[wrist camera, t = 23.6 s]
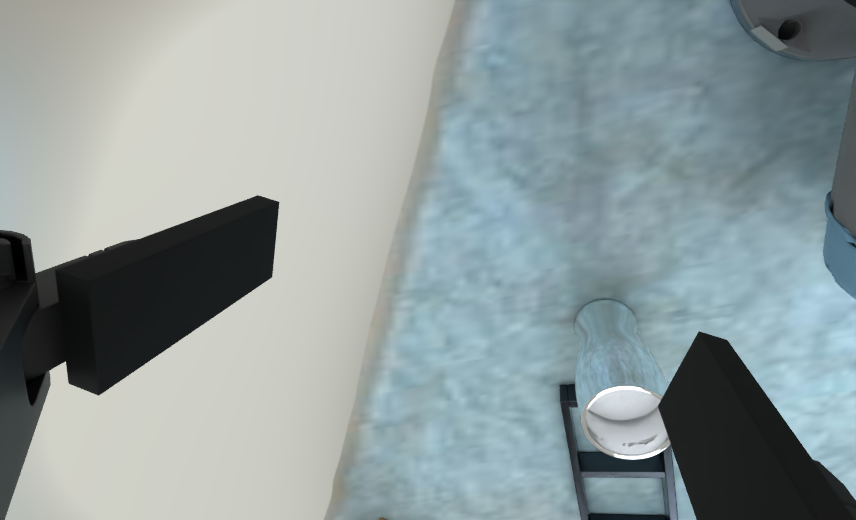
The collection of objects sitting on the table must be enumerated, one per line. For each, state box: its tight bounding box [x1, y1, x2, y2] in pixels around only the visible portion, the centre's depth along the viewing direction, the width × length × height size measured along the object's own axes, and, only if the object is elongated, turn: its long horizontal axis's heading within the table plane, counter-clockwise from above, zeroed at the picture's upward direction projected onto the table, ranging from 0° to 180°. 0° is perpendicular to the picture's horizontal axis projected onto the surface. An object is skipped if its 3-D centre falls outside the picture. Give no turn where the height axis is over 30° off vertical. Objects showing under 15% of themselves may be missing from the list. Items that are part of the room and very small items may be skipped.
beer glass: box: [574, 299, 671, 460], centre depth 40 cm, size 7×7×15 cm
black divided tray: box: [560, 384, 678, 520], centre depth 50 cm, size 10×19×3 cm, turn 14°
